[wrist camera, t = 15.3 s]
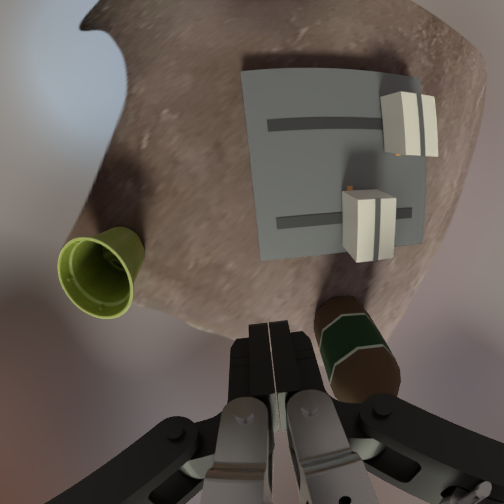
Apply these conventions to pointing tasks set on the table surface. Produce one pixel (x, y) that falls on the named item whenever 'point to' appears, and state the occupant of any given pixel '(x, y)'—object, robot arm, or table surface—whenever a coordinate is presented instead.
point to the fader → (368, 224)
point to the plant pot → (101, 271)
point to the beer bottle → (354, 352)
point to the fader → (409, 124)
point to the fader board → (324, 156)
